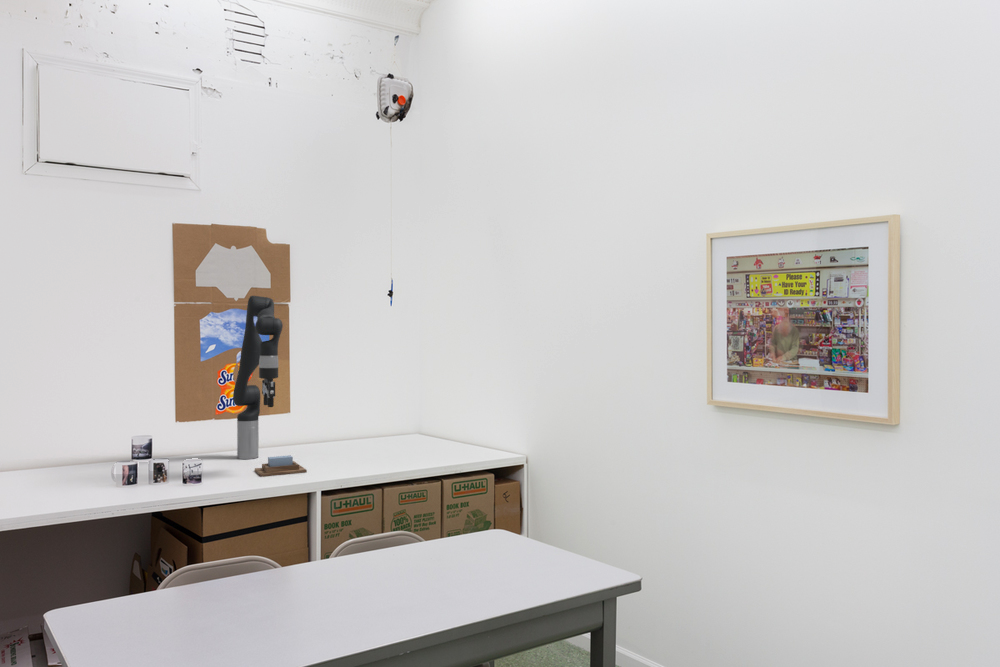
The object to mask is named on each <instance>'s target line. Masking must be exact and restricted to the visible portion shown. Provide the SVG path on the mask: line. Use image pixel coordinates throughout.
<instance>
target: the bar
mask: <svg viewBox="0 0 1000 667" xmlns="http://www.w3.org/2000/svg"><path fill="white" fill-rule="evenodd" d="M293 458H294V457H293V456H292V455H290V454H289V455H280V456H279V455H278V456H277V455H276V456H268V457H267V463H268V467H275V466H286V465H293V461H294V459H293Z"/></svg>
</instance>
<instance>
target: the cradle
mask: <svg viewBox="0 0 1000 667" xmlns="http://www.w3.org/2000/svg"><path fill="white" fill-rule="evenodd" d="M254 472H256V473H257V475H258V476H259V477H261V478H262V477H272V476H273V477H274V476H281V475H282V476H284V475H292V474H293V475H294V474H304V473H307V469H306V468H304V467H303V466H302V465H300V464H299V463H297V462H296V461H294V460H293V465H286V466H275V467H268V462H266V463H261V467H256V468H254Z"/></svg>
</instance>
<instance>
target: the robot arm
mask: <svg viewBox="0 0 1000 667" xmlns="http://www.w3.org/2000/svg"><path fill="white" fill-rule="evenodd" d="M255 317H256V322H255V320H254V318H255ZM283 325H284V323H283V321H282V320H281V319H280V318H278V317H275V303H274V300H273V299H272V298H271V297H267V296H266V297H265V296H259V295H251V296H249V298H248V301H247V305H246V317H245V326H244V328H245V329H244V333H243V334H244V335H243V339H242V345H241V349H240V350H241V351H240V360H239V366H238V372H237V376H236V381H235V384H234V387H233V388H234V389H233V394H232V395H233V396H232V397H233V398H232V400H233V404H235V405H236V406H237V407H245V406H247V407H246V408H245V410H244V411H242V412H240V413H238V414H237V418H236V420H237V421H236V428H237V429H236V430H237V432H236V436H237V437H236V438H237V439H236V442H237V443H236V446H237V448H236V451H237V452H236V456H237V457H236V458H237V459H239V460H252V459H256V458H259V447H260V446H259V416H260V412H261V394H262V396H263V405H264V406H267V407H268V408H273V407H274V406H275V405H274V403H275V402H274V401H275V399H274V398H275V397H276V381H274V379H278V378H279V356H278V355H279V349H278V348H279V340H280V337H281V334H282V331H283ZM261 336H272V337H271V339H268V340H262V338H261ZM257 368H258V378H259V379H262V381H261V382H262V383H261V384H262V385H261V390H260V388H259V386H257V385H255V384H250V385H249V380H250V377H251V376H252V374H253V373H254V371H255V370H256V369H257Z"/></svg>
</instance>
